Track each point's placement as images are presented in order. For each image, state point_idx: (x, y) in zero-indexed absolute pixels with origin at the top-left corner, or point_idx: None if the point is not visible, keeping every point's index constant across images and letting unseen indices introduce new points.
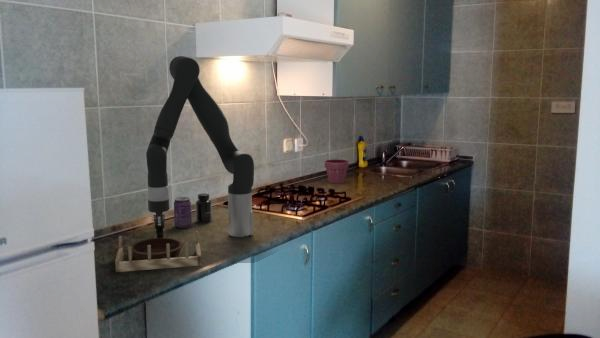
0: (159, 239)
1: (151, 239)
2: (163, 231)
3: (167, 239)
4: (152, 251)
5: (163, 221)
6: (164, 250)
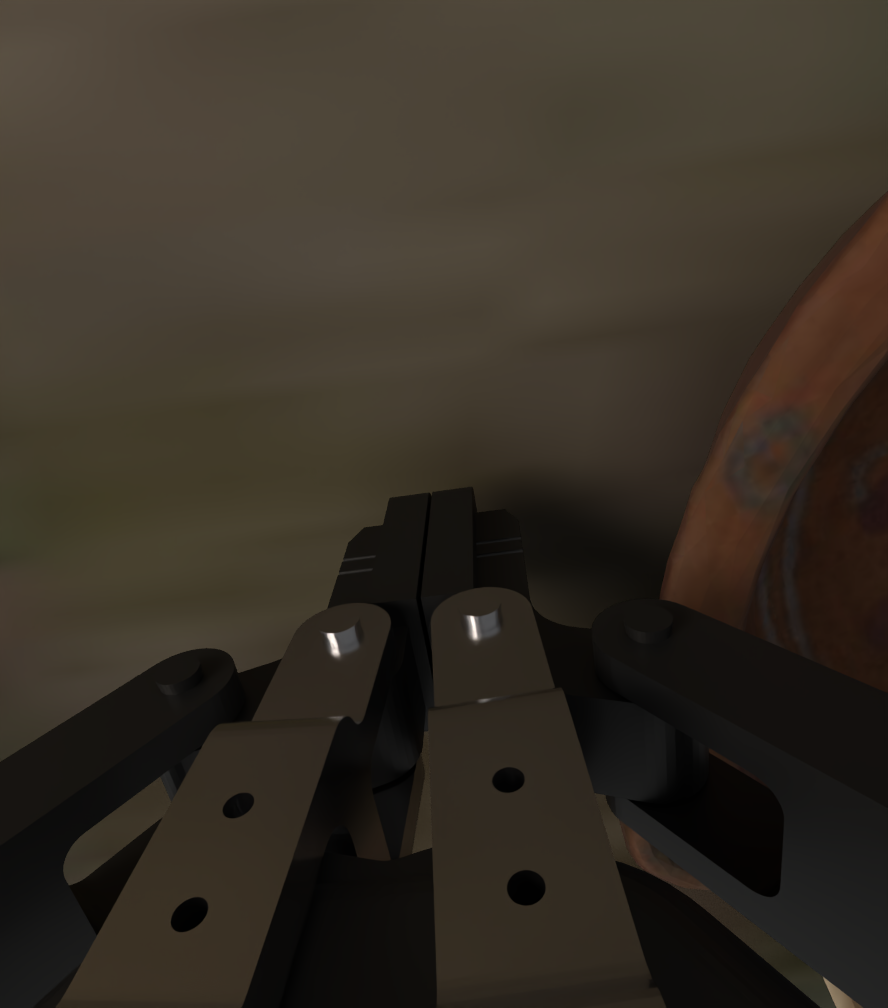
0: (744, 609)
1: (735, 767)
2: (364, 620)
3: (840, 411)
4: (828, 604)
5: (654, 999)
6: (855, 400)
